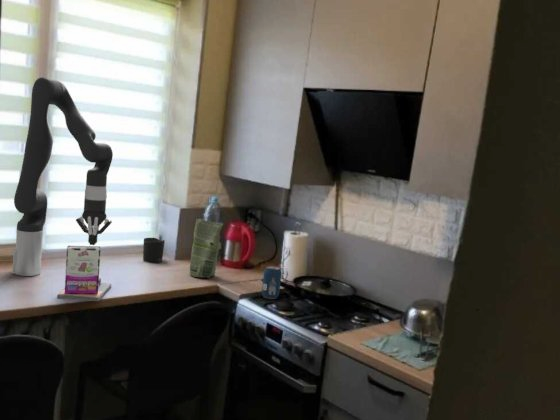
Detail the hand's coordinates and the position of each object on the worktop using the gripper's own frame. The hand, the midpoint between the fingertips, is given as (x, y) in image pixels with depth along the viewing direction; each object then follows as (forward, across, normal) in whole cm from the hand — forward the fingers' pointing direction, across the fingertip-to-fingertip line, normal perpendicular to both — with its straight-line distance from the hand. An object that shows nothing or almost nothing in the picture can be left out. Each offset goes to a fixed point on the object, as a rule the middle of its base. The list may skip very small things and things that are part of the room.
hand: (92, 244), depth 208 cm
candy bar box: (+15, 0, -11) cm, 19 cm away
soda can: (+17, +68, +9) cm, 71 cm away
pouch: (+17, +40, +32) cm, 54 cm away
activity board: (+16, 0, -6) cm, 17 cm away
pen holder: (+17, +15, +52) cm, 57 cm away
